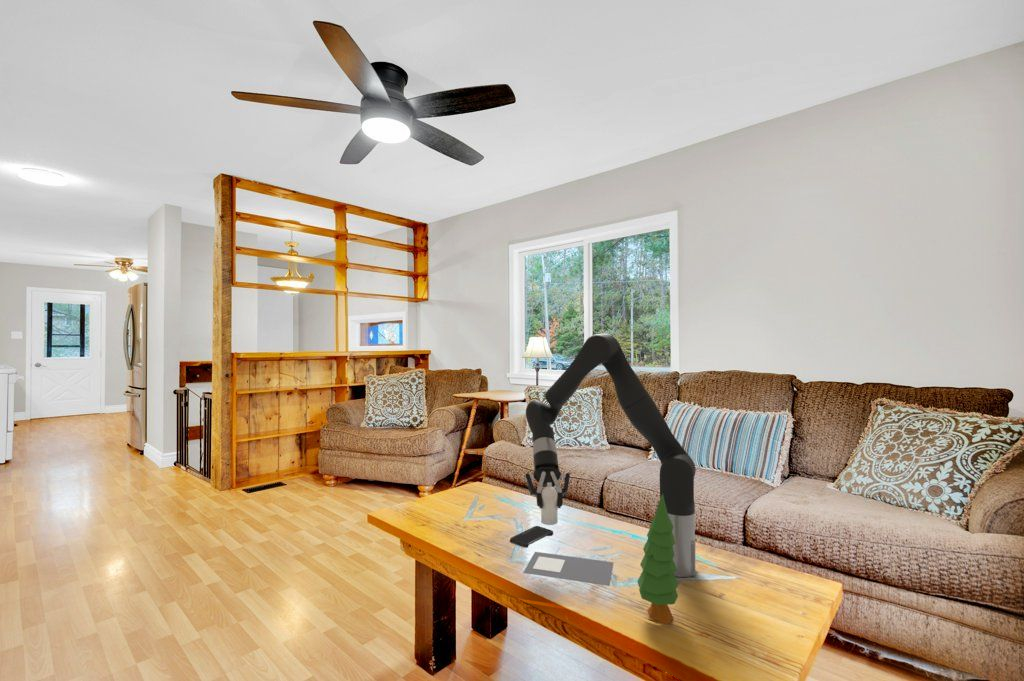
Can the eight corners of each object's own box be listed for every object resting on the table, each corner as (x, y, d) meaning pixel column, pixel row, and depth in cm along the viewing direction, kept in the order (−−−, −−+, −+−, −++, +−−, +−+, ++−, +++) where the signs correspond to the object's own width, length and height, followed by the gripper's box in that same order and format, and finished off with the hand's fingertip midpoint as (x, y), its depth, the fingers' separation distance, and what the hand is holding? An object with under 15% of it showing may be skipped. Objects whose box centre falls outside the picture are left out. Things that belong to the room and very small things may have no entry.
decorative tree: (672, 632, 107) (672, 500, 107) (631, 620, 112) (631, 493, 112) (681, 612, 115) (681, 489, 115) (642, 600, 120) (643, 482, 120)
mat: (613, 564, 140) (613, 561, 140) (609, 587, 126) (609, 585, 126) (535, 553, 147) (535, 551, 147) (523, 574, 133) (523, 572, 133)
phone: (554, 531, 163) (527, 545, 151) (554, 534, 162) (527, 548, 151) (536, 525, 168) (508, 538, 156) (536, 528, 168) (508, 541, 156)
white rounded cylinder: (558, 519, 140) (559, 481, 140) (555, 525, 135) (555, 485, 135) (543, 518, 141) (543, 479, 141) (539, 523, 137) (539, 484, 137)
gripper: (523, 449, 146) (526, 501, 133) (569, 448, 146) (576, 500, 134) (521, 462, 151) (524, 513, 139) (566, 461, 152) (573, 512, 140)
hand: (550, 506), depth 137 cm, fingers closed on white rounded cylinder, 4 cm apart
